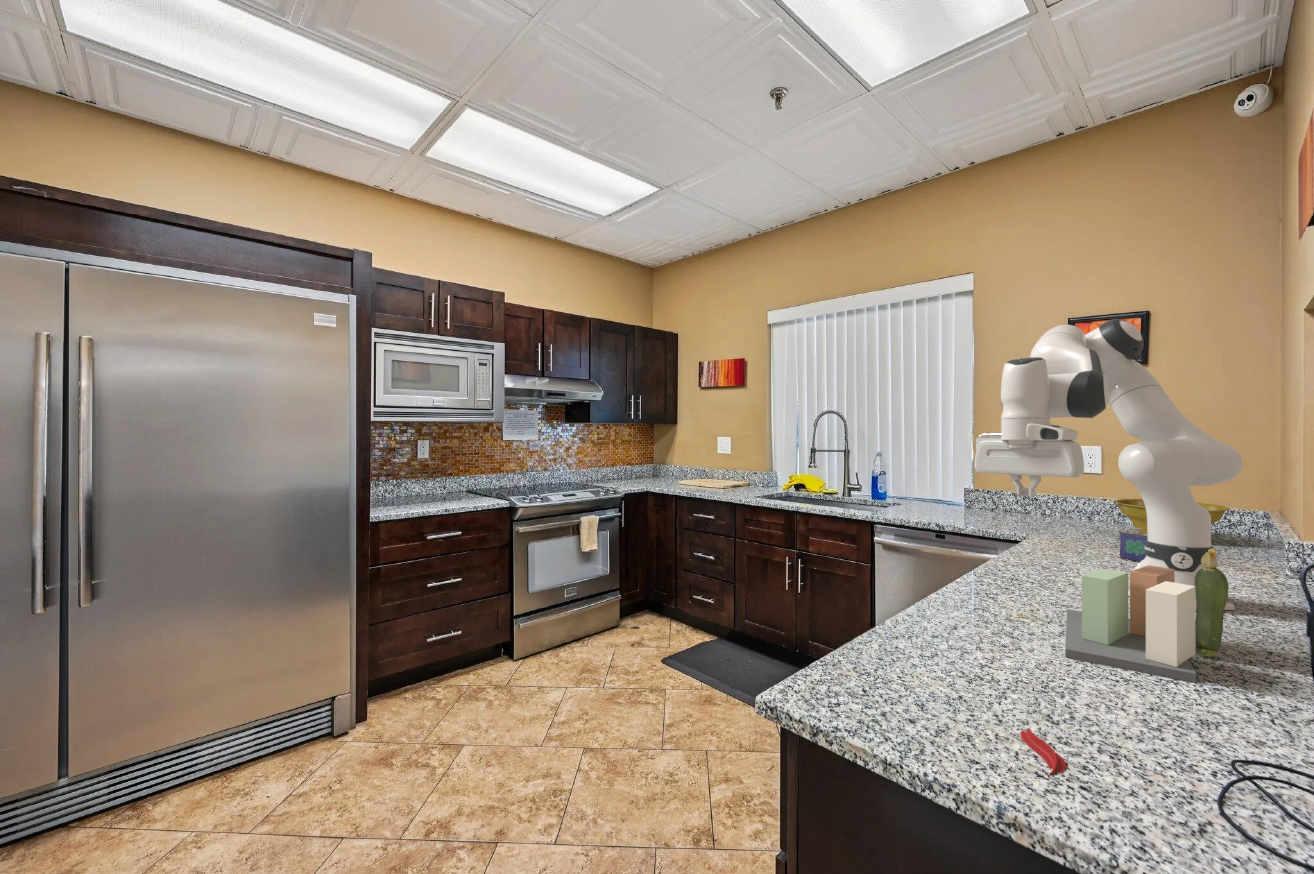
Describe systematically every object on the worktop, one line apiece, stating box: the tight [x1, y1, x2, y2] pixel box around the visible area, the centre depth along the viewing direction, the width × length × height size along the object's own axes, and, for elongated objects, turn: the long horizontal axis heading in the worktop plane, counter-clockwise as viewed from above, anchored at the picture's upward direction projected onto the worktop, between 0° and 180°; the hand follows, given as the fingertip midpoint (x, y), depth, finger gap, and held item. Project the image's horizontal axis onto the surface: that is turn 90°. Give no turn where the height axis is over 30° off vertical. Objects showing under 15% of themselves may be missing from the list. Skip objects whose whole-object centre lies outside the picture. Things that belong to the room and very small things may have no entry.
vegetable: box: [1195, 547, 1230, 658], centre depth 99 cm, size 4×4×20 cm
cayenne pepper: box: [1020, 727, 1067, 777], centre depth 70 cm, size 12×5×2 cm, turn 147°
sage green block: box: [1081, 568, 1129, 645], centre depth 105 cm, size 4×10×12 cm, turn 122°
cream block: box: [1146, 581, 1196, 667], centre depth 95 cm, size 4×10×12 cm, turn 122°
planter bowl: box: [1113, 498, 1230, 534], centre depth 210 cm, size 32×32×13 cm
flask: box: [1119, 527, 1147, 563], centre depth 173 cm, size 9×3×11 cm, turn 25°
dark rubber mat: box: [1064, 609, 1197, 684], centre depth 105 cm, size 28×17×2 cm, turn 142°
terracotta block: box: [1129, 565, 1175, 637], centre depth 107 cm, size 4×10×12 cm, turn 122°
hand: (1025, 496), depth 117 cm, fingers closed
